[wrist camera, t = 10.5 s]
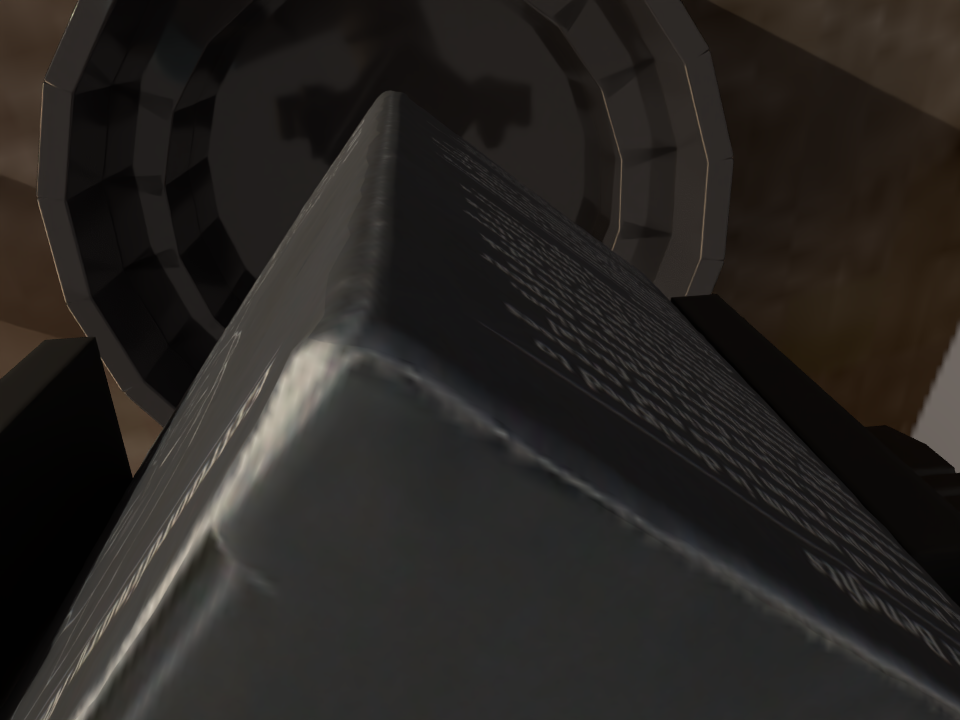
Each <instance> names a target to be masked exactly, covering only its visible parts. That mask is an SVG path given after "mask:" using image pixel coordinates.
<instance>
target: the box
mask: <svg viewBox="0 0 960 720" xmlns="http://www.w3.org/2000/svg"><path fill="white" fill-rule="evenodd" d="M0 720H960V607H959V606H958V605H957V604H956V603H955V602H954V601H953V600H952V599H951V598H950V597H949V596H948V595H947V594H946V593H945V591H944V590H943V589H942V588H941V587H940V586H939V585H938V584H937V583H936V582H935V581H934V580H933V579H932V578H931V576H930V575H929V574H928V573H927V572H926V571H925V570H924V569H923V568H922V567H921V566H920V565H919V564H918V563H917V562H916V561H915V560H914V559H913V558H912V557H911V556H910V555H909V554H908V553H907V552H906V551H905V550H904V549H903V548H902V546H901V545H900V544H899V543H898V542H897V540H896V539H895V538H894V537H893V535H892V534H891V533H890V532H889V531H888V529H887V528H886V527H885V526H884V525H883V524H881V523H880V522H879V521H878V520H877V519H876V518H875V517H874V516H873V515H872V514H871V513H870V512H869V511H868V510H867V509H866V508H865V507H864V506H863V505H862V504H861V503H860V501H859V500H858V499H857V498H856V497H855V495H854V494H853V493H852V492H851V491H850V490H849V489H848V488H847V487H846V486H845V484H844V483H843V482H842V481H841V480H840V479H839V478H838V477H837V476H836V475H835V474H834V473H833V472H832V471H831V470H830V469H829V468H828V467H827V466H826V465H825V464H824V463H823V462H822V461H821V460H820V459H819V458H818V457H817V456H816V455H815V454H814V453H813V451H812V450H811V449H810V448H809V447H808V446H807V445H806V444H805V443H804V442H803V441H802V440H801V439H800V438H799V437H798V436H797V435H796V434H795V433H794V432H793V431H792V430H791V429H790V428H789V427H788V425H787V424H786V423H785V422H784V421H783V420H782V419H781V418H780V417H779V416H778V415H777V413H776V412H775V411H774V410H773V409H772V408H771V407H770V406H769V405H768V404H767V403H766V402H765V401H764V400H763V399H762V398H761V397H760V395H759V394H758V393H757V392H756V391H754V390H753V389H752V388H751V387H750V386H749V385H748V384H747V382H746V381H745V380H744V379H743V378H742V377H741V376H740V374H739V373H738V372H737V371H736V370H735V369H734V368H733V367H732V366H731V365H730V364H729V363H728V362H727V361H726V360H725V359H724V358H723V357H722V356H721V355H720V354H719V353H718V352H717V351H716V350H715V348H714V347H713V346H712V345H711V344H710V343H709V342H708V341H707V340H706V339H705V337H704V336H703V335H702V334H701V333H700V332H698V331H697V330H696V329H695V328H694V327H693V325H692V324H691V323H690V322H689V321H688V319H687V318H686V317H685V316H684V315H683V314H682V313H681V312H680V311H679V310H678V308H677V307H676V306H674V305H673V304H672V302H671V301H670V300H669V299H668V298H667V297H666V296H665V295H664V294H663V293H662V292H661V291H660V290H659V289H658V288H657V287H656V286H655V285H654V284H653V283H652V282H651V281H650V280H649V279H648V278H647V277H646V276H645V275H644V274H643V273H642V272H641V271H639V270H638V269H636V268H635V267H633V266H632V265H631V264H629V263H628V262H627V261H625V260H624V259H623V258H621V257H620V256H618V255H617V254H616V253H614V252H613V251H611V250H610V249H609V248H608V247H607V246H605V245H604V244H603V243H602V242H600V241H599V240H597V239H596V238H594V237H593V236H592V235H590V234H589V233H588V232H587V231H586V230H584V229H583V228H581V227H580V226H578V225H577V224H575V223H574V222H572V221H571V220H569V219H568V218H567V217H565V216H564V215H563V214H562V213H561V212H560V211H558V210H557V209H555V208H554V207H552V206H551V205H550V204H549V203H547V202H546V201H545V200H544V199H542V198H541V197H539V196H538V195H537V194H535V193H534V192H532V191H531V190H530V189H528V188H527V187H526V186H524V185H523V184H522V183H520V182H519V181H517V180H516V179H515V178H514V177H512V176H511V175H510V174H509V173H508V172H506V171H505V170H504V169H502V168H501V167H500V166H498V165H497V164H496V163H494V162H493V161H491V160H490V159H489V158H488V157H486V156H485V155H484V154H482V153H481V152H480V151H479V150H477V149H476V148H475V147H473V146H472V145H471V144H469V143H468V142H467V141H465V140H464V139H463V138H461V137H460V136H458V135H457V134H455V133H454V132H453V131H451V130H450V129H449V128H447V127H446V126H445V125H444V124H442V123H441V122H440V121H438V120H437V119H436V118H435V117H433V116H432V115H431V114H430V113H429V112H427V111H426V110H424V109H423V108H421V107H420V106H418V105H417V104H415V103H414V102H413V101H412V100H410V99H409V98H408V96H407V95H406V94H405V93H402V92H395V91H391V90H390V91H385V92H384V93H382V94H381V95H380V96H379V97H378V98H377V99H376V100H375V102H374V103H373V105H372V106H371V108H370V109H369V110H368V112H367V113H366V115H365V116H364V118H363V119H362V121H361V122H360V124H359V125H358V127H357V128H356V130H355V131H354V133H353V134H352V136H351V137H350V139H349V140H348V142H347V143H346V145H345V146H344V148H343V149H342V151H341V152H340V154H339V155H338V157H337V158H336V160H335V161H334V162H333V164H332V165H331V167H330V168H329V170H328V172H327V173H326V175H325V176H324V178H323V179H322V180H321V182H320V183H319V185H318V186H317V188H316V189H315V191H314V192H313V194H312V195H311V197H310V198H309V200H308V201H307V202H306V204H305V205H304V207H303V208H302V210H301V212H300V214H299V215H298V217H297V219H296V220H295V222H294V223H293V225H292V226H291V228H290V229H289V231H288V233H287V234H286V236H285V237H284V239H283V240H282V242H281V243H280V245H279V247H278V248H277V250H276V251H275V253H274V254H273V256H272V257H271V259H270V260H269V262H268V263H267V265H266V267H265V268H264V270H263V271H262V273H261V274H260V276H259V277H258V279H257V280H256V282H255V283H254V285H253V287H252V288H251V290H250V291H249V293H248V294H247V296H246V298H245V299H244V301H243V303H242V304H241V306H240V307H239V309H238V311H237V312H236V314H235V315H234V317H233V318H232V320H231V321H230V323H229V325H228V326H227V328H226V329H225V331H224V332H223V334H222V336H221V337H220V339H219V340H218V342H217V343H216V345H215V346H214V348H213V350H212V351H211V353H210V354H209V356H208V358H207V359H206V361H205V363H204V364H203V366H202V367H201V369H200V371H199V372H198V374H197V375H196V377H195V379H194V380H193V381H192V383H191V385H190V386H189V388H188V389H187V391H186V393H185V394H184V396H183V398H182V399H181V401H180V403H179V404H178V406H177V407H176V409H175V411H174V412H173V414H172V415H171V417H170V418H169V420H168V422H167V423H166V425H165V426H164V428H163V429H162V431H161V433H160V434H159V436H158V437H157V439H156V440H155V442H154V444H153V445H152V447H151V448H150V450H149V451H148V453H147V455H146V457H145V458H144V460H143V462H142V464H141V466H140V468H139V469H138V471H137V472H136V474H135V475H134V478H133V480H132V481H131V483H130V485H129V486H128V488H127V489H126V491H125V493H124V495H123V497H122V499H121V500H120V502H119V503H118V505H117V506H116V508H115V510H114V512H113V514H112V516H111V518H110V520H109V522H108V523H107V525H106V527H105V529H104V530H103V532H102V534H101V535H100V537H99V539H98V541H97V542H96V544H95V546H94V547H93V549H92V551H91V552H90V554H89V556H88V558H87V559H86V561H85V563H84V566H83V568H82V570H81V571H80V573H79V574H78V576H77V578H76V580H75V582H74V584H73V586H72V587H71V589H70V591H69V592H68V594H67V596H66V597H65V599H64V601H63V603H62V604H61V606H60V608H59V610H58V612H57V614H56V616H55V618H54V619H53V621H52V622H51V624H50V625H49V627H48V628H47V630H46V631H45V633H44V635H43V636H42V638H41V640H40V642H39V644H38V645H37V646H36V648H35V650H34V652H33V654H32V656H31V658H30V660H29V662H28V664H27V666H26V668H25V670H24V671H23V673H22V675H21V677H20V679H19V680H18V682H17V684H16V686H15V687H14V689H13V691H12V692H11V694H10V696H9V697H8V699H7V701H6V702H5V704H4V705H3V707H2V708H1V710H0Z"/></svg>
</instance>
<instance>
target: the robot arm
mask: <svg viewBox="0 0 960 720" xmlns="http://www.w3.org/2000/svg"><path fill="white" fill-rule="evenodd" d="M671 302H672V304H673V305H674V306H676V307H677V308H678V310H679V311H680V312H681V313H682V314H683V315H684V316H685V317H686V318H687V319H688V321H689V322H690V323H691V324H692V325H693V327H694V328H695V329H696V330H697V331H698V332H700V333H701V334H702V335H703V336H704V337H705V339H706V340H707V341H708V342H709V343H710V344H711V345H712V346H713V347H714V348H715V350H716V351H717V352H718V353H719V354H720V355H721V356H722V357H723V358H724V359H725V360H726V361H727V362H728V363H729V364H730V365H731V366H732V367H733V368H734V369H735V370H736V371H737V372H738V373H739V374H740V376H741V377H742V378H743V379H744V380H745V381H746V382H747V384H748V385H749V386H750V387H751V388H752V389H753V390H754V391H756V392H757V393H758V394H759V395H760V397H761V398H762V399H763V400H764V401H765V402H766V403H767V404H768V405H769V406H770V407H771V408H772V409H773V410H774V411H775V412H776V413H777V415H778V416H779V417H780V418H781V419H782V420H783V421H784V422H785V423H786V424H787V425H788V427H789V428H790V429H791V430H792V431H793V432H794V433H795V434H796V435H797V436H798V437H799V438H800V439H801V440H802V441H803V442H804V443H805V444H806V445H807V446H808V447H809V448H810V449H811V450H812V451H813V453H814V454H815V455H816V456H817V457H818V458H819V459H820V460H821V461H822V462H823V463H824V464H825V465H826V466H827V467H828V468H829V469H830V470H831V471H832V472H833V473H834V474H835V475H836V476H837V477H838V478H839V479H840V480H841V481H842V482H843V483H844V484H845V486H846V487H847V488H848V489H849V490H850V491H851V492H852V493H853V494H854V495H855V497H856V498H857V499H858V500H859V501H860V503H861V504H862V505H863V506H864V507H865V508H866V509H867V510H868V511H869V512H870V513H871V514H872V515H873V516H874V517H875V518H876V519H877V520H878V521H879V522H880V523H881V524H883V525H884V526H885V527H886V528H887V529H888V531H889V532H890V533H891V534H892V535H893V537H894V538H895V539H896V540H897V542H898V543H899V544H900V545H901V546H902V548H903V549H904V550H905V551H906V552H907V553H908V554H909V555H910V556H911V557H912V558H913V559H914V560H915V561H916V562H917V563H918V564H919V565H920V566H921V567H922V568H923V569H924V570H925V571H926V572H927V573H928V574H929V575H930V576H931V578H932V579H933V580H934V581H935V582H936V583H937V584H938V585H939V586H940V587H941V588H942V589H943V590H944V591H945V593H946V594H947V595H948V596H949V597H950V598H951V599H952V600H953V601H954V602H955V603H956V604H957V605H958V606H959V607H960V473H955V468H954V467H953V466H952V465H950V464H949V463H948V462H947V461H946V460H944V459H943V458H942V457H941V456H939V455H938V454H937V453H935V451H933V450H932V449H931V448H929V446H927V445H926V444H924V443H922V442H920V441H918V440H916V439H914V438H912V437H910V436H907V435H905V434H903V433H901V432H899V431H897V430H895V429H893V428H891V427H888V426H886V425H883V426H871V427H864V426H863V425H862V424H861V423H860V422H858V421H857V420H856V419H855V418H854V417H853V416H852V415H851V414H849V413H848V412H847V411H846V410H845V409H844V408H843V407H842V406H841V405H839V404H838V403H837V402H836V401H835V400H834V399H833V398H832V397H831V396H829V395H828V394H827V393H826V392H825V391H824V390H823V389H822V388H821V387H819V386H818V385H817V384H816V383H815V382H814V381H813V380H812V379H811V378H809V377H808V376H807V375H806V374H805V373H804V372H803V371H802V370H801V369H799V368H798V367H797V366H796V365H795V364H794V363H793V362H792V361H791V360H789V359H788V358H787V357H786V356H785V355H784V354H783V353H782V352H781V351H779V350H778V349H777V348H776V347H775V346H774V345H773V344H772V343H770V342H769V341H768V340H767V339H766V338H765V337H764V336H763V335H762V334H760V333H759V332H758V331H757V330H756V329H755V328H754V327H753V326H752V325H750V324H749V323H748V322H747V321H746V320H745V319H744V318H743V317H742V316H740V315H739V314H738V313H737V312H736V311H735V310H734V309H733V308H732V307H730V306H729V305H728V304H727V303H726V302H725V301H724V300H723V299H722V298H720V297H719V296H718V295H717V294H711V295H696V296H682V297H671ZM132 480H133V477H132V473H131V469H130V466H129V462H128V458H127V454H126V450H125V447H124V443H123V439H122V435H121V432H120V428H119V424H118V420H117V416H116V413H115V409H114V405H113V401H112V398H111V394H110V390H109V386H108V382H107V379H106V375H105V371H104V367H103V363H102V360H101V356H100V352H99V348H98V345H97V341H96V337H82V338H67V339H52V340H44V341H43V342H42V343H41V344H40V345H39V346H38V347H36V348H35V349H34V350H33V351H32V352H31V353H30V354H28V355H27V356H26V357H25V358H24V359H23V360H22V361H21V362H19V363H18V364H17V365H16V366H15V367H14V368H13V369H12V370H10V371H9V372H8V373H7V374H6V375H5V376H4V377H3V378H1V379H0V710H1V708H2V707H3V705H4V704H5V702H6V701H7V699H8V697H9V696H10V694H11V692H12V691H13V689H14V687H15V686H16V684H17V682H18V680H19V679H20V677H21V675H22V673H23V671H24V670H25V668H26V666H27V664H28V662H29V660H30V658H31V656H32V654H33V652H34V650H35V648H36V646H37V645H38V644H39V642H40V640H41V638H42V636H43V635H44V633H45V631H46V630H47V628H48V627H49V625H50V624H51V622H52V621H53V619H54V618H55V616H56V614H57V612H58V610H59V608H60V606H61V604H62V603H63V601H64V599H65V597H66V596H67V594H68V592H69V591H70V589H71V587H72V586H73V584H74V582H75V580H76V578H77V576H78V574H79V573H80V571H81V570H82V568H83V566H84V563H85V561H86V559H87V558H88V556H89V554H90V552H91V551H92V549H93V547H94V546H95V544H96V542H97V541H98V539H99V537H100V535H101V534H102V532H103V530H104V529H105V527H106V525H107V523H108V522H109V520H110V518H111V516H112V514H113V512H114V510H115V508H116V506H117V505H118V503H119V502H120V500H121V499H122V497H123V495H124V493H125V491H126V489H127V488H128V486H129V485H130V483H131V481H132Z"/></svg>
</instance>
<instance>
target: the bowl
mask: <svg viewBox="0 0 960 720" xmlns="http://www.w3.org/2000/svg"><path fill="white" fill-rule="evenodd" d="M44 81H45V82H43V84H42V100H41V117H40V135H39V152H38V169H37V186H36V196H37V197H38V198H37V202H38V206H39V210H40V213H41V217H42V221H43V224H44V228H45V231H46V235H47V239H48V242H49V246H50V250H51V253H52V257H53V260H54V264H55V268H56V271H57V275H58V278H59V282H60V286H61V289H62V293H63V297H64V300H65V302H66V303H67V304H66V305H67V307H68V309H69V310H70V312H71V314H72V315H73V317H74V318H75V320H76V321H77V323H78V324H79V326H80V327H81V329H82V331H83V332H84V334H85V335H86V337H96V341H97V345H98V348H99V352H100V356H101V360H102V361H103V363H104V365H105V366H106V368H107V369H108V371H109V372H110V374H111V375H112V377H113V379H114V380H115V382H116V383H117V385H118V386H119V388H120V389H121V391H122V392H124V394H125V395H126V396H128V397H129V398H130V399H131V400H132V401H133V402H134V403H136V404H137V405H138V406H139V407H140V408H141V409H143V410H144V411H145V412H146V413H147V414H148V415H150V416H151V417H152V418H153V419H154V420H155V421H156V422H158V423H159V424H160V425H161V426H162V427H163V428H164V426H165V425H166V423H167V422H168V420H169V418H170V417H171V415H172V414H173V412H174V411H175V409H176V407H177V406H178V404H179V403H180V401H181V399H182V398H183V396H184V394H185V393H186V391H187V389H188V388H189V386H190V385H191V383H192V381H193V380H194V379H195V377H196V375H197V374H198V372H199V371H200V369H201V367H202V366H203V364H204V363H205V361H206V359H207V358H208V356H209V354H210V353H211V351H212V350H213V348H214V346H215V345H216V343H217V342H218V340H219V339H220V337H221V336H222V334H223V332H224V331H225V329H226V328H227V326H228V325H229V323H230V321H231V320H232V318H233V317H234V315H235V314H236V312H237V311H238V309H239V307H240V306H241V304H242V303H243V301H244V299H245V298H246V296H247V294H248V293H249V291H250V290H251V288H252V287H253V285H254V283H255V282H256V280H257V279H258V277H259V276H260V274H261V273H262V271H263V270H264V268H265V267H266V265H267V263H268V262H269V260H270V259H271V257H272V256H273V254H274V253H275V251H276V250H277V248H278V247H279V245H280V243H281V242H282V240H283V239H284V237H285V236H286V234H287V233H288V231H289V229H290V228H291V226H292V225H293V223H294V222H295V220H296V219H297V217H298V215H299V214H300V212H301V210H302V208H303V207H304V205H305V204H306V202H307V201H308V200H309V198H310V197H311V195H312V194H313V192H314V191H315V189H316V188H317V186H318V185H319V183H320V182H321V180H322V179H323V178H324V176H325V175H326V173H327V172H328V170H329V168H330V167H331V165H332V164H333V162H334V161H335V160H336V158H337V157H338V155H339V154H340V152H341V151H342V149H343V148H344V146H345V145H346V143H347V142H348V140H349V139H350V137H351V136H352V134H353V133H354V131H355V130H356V128H357V127H358V125H359V124H360V122H361V121H362V119H363V118H364V116H365V115H366V113H367V112H368V110H369V109H370V108H371V106H372V105H373V103H374V102H375V100H376V99H377V98H378V97H379V96H380V95H381V94H382V93H384V92H385V91H390V90H391V91H395V92H402V93H405V94H406V95H407V96H408V98H409V99H410V100H412V101H413V102H414V103H415V104H417V105H418V106H420V107H421V108H423V109H424V110H426V111H427V112H429V113H430V114H431V115H432V116H433V117H435V118H436V119H437V120H438V121H440V122H441V123H442V124H444V125H445V126H446V127H447V128H449V129H450V130H451V131H453V132H454V133H455V134H457V135H458V136H460V137H461V138H463V139H464V140H465V141H467V142H468V143H469V144H471V145H472V146H473V147H475V148H476V149H477V150H479V151H480V152H481V153H482V154H484V155H485V156H486V157H488V158H489V159H490V160H491V161H493V162H494V163H496V164H497V165H498V166H500V167H501V168H502V169H504V170H505V171H506V172H508V173H509V174H510V175H511V176H512V177H514V178H515V179H516V180H517V181H519V182H520V183H522V184H523V185H524V186H526V187H527V188H528V189H530V190H531V191H532V192H534V193H535V194H537V195H538V196H539V197H541V198H542V199H544V200H545V201H546V202H547V203H549V204H550V205H551V206H552V207H554V208H555V209H557V210H558V211H560V212H561V213H562V214H563V215H564V216H565V217H567V218H568V219H569V220H571V221H572V222H574V223H575V224H577V225H578V226H580V227H581V228H583V229H584V230H586V231H587V232H588V233H589V234H590V235H592V236H593V237H594V238H596V239H597V240H599V241H600V242H602V243H603V244H604V245H605V246H607V247H608V248H609V249H610V250H611V251H613V252H614V253H616V254H617V255H618V256H620V257H621V258H623V259H624V260H625V261H627V262H628V263H629V264H631V265H632V266H633V267H635V268H636V269H638V270H639V271H641V272H642V273H643V274H644V275H645V276H646V277H647V278H648V279H649V280H650V281H651V282H652V283H653V284H654V285H655V286H656V287H657V288H658V289H659V290H660V291H661V292H662V293H663V294H664V295H665V296H666V297H667V298H668V299H669V300H670V301H671V297H682V296H696V295H711V293H712V291H713V288H714V286H715V283H716V281H717V279H718V276H719V274H720V271H721V269H722V266H723V264H724V261H723V260H724V259H725V249H726V238H727V228H728V217H729V206H730V195H731V185H732V174H733V163H734V159H733V158H732V157H733V151H732V146H731V142H730V137H729V133H728V128H727V124H726V119H725V115H724V110H723V106H722V101H721V97H720V92H719V88H718V83H717V79H716V74H715V70H714V65H713V61H712V56H711V52H710V51H709V46H708V45H707V43H706V41H705V40H704V38H703V36H702V35H701V33H700V31H699V30H698V28H697V26H696V25H695V23H694V21H693V20H692V18H691V16H690V15H689V13H688V11H687V10H686V8H685V7H684V5H683V3H682V2H681V0H78V1H77V4H76V6H75V8H74V10H73V13H72V15H71V17H70V20H69V22H68V24H67V27H66V29H65V31H64V33H63V36H62V38H61V40H60V43H59V45H58V47H57V50H56V52H55V54H54V56H53V59H52V61H51V63H50V66H49V68H48V70H47V73H46V75H45V77H44Z"/></svg>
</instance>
